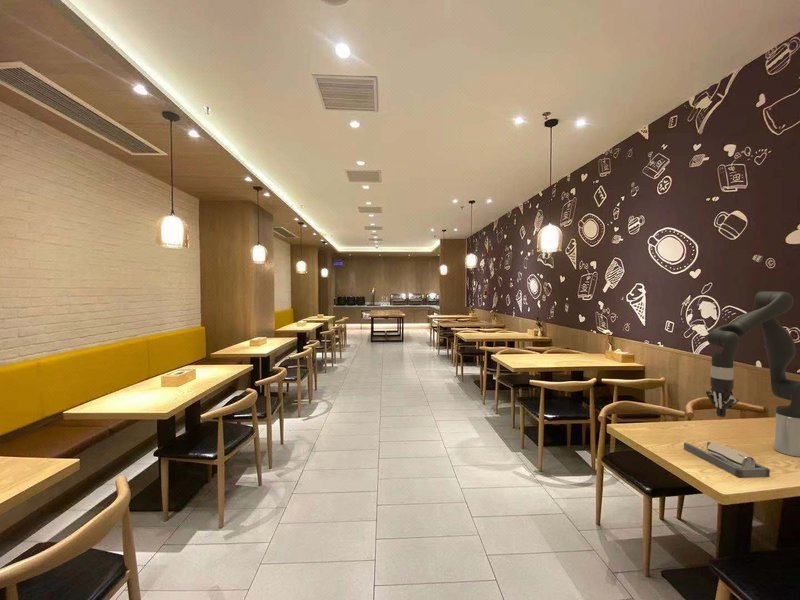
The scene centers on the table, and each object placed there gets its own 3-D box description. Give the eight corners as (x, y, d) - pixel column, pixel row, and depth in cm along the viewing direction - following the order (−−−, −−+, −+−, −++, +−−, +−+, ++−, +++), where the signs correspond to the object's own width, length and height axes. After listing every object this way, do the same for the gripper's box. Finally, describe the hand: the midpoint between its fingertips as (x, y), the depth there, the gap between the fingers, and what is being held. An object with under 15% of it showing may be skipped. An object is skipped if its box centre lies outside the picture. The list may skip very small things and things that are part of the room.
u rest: (709, 448, 169) (710, 441, 169) (769, 476, 143) (769, 469, 143) (683, 448, 168) (683, 442, 168) (739, 477, 142) (739, 470, 142)
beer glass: (705, 455, 161) (740, 472, 146) (707, 440, 161) (742, 455, 146) (719, 457, 162) (755, 473, 147) (721, 441, 162) (757, 456, 147)
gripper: (745, 380, 150) (744, 421, 150) (715, 373, 163) (714, 411, 163) (728, 381, 149) (727, 422, 150) (700, 373, 162) (699, 411, 163)
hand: (720, 416), depth 157 cm, fingers closed
